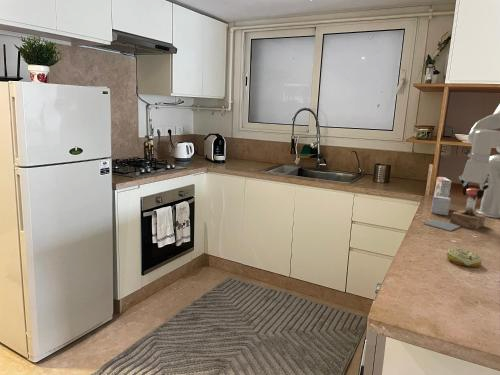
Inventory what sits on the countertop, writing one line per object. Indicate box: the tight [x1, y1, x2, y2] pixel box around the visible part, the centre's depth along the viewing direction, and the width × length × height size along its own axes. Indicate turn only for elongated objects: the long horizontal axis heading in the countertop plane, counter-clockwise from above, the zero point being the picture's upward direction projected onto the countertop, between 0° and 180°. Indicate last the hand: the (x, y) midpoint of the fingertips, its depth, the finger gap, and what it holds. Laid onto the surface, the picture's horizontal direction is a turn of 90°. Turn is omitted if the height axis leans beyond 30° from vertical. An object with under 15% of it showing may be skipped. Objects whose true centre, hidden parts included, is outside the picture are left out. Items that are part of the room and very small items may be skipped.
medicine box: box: [430, 195, 452, 216], centre depth 195 cm, size 8×4×9 cm, turn 65°
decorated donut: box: [446, 247, 483, 268], centre depth 132 cm, size 10×11×4 cm
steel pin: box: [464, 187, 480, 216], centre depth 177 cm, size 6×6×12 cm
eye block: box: [449, 209, 487, 230], centre depth 179 cm, size 11×11×5 cm
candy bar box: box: [433, 176, 453, 198], centre depth 206 cm, size 11×5×16 cm, turn 168°
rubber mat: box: [423, 218, 462, 232], centre depth 175 cm, size 12×12×1 cm
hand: (472, 196), depth 176 cm, fingers closed on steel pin, 6 cm apart
